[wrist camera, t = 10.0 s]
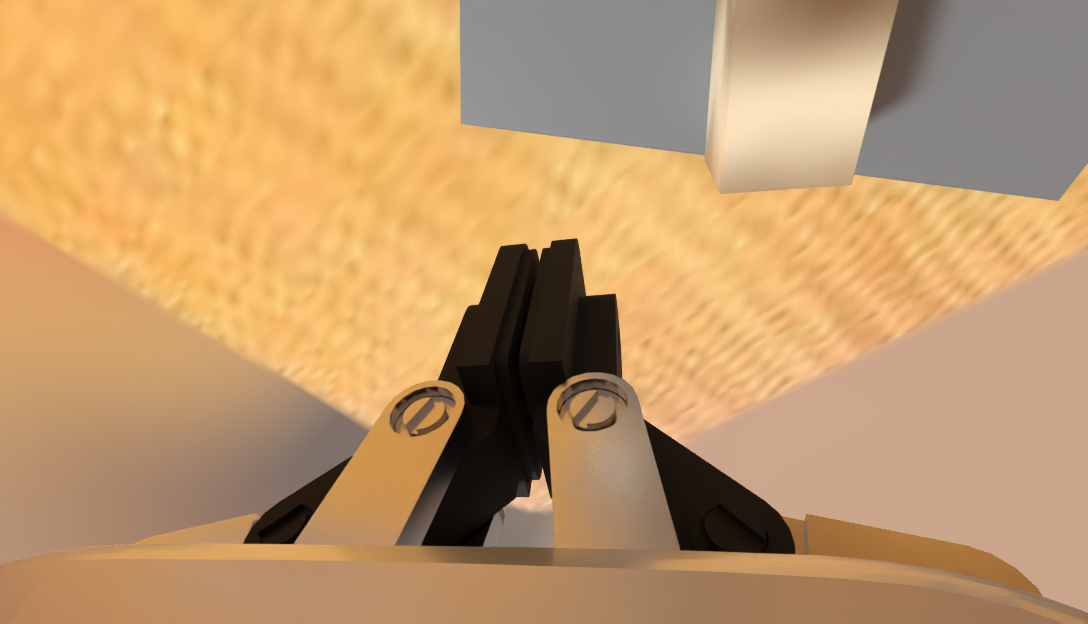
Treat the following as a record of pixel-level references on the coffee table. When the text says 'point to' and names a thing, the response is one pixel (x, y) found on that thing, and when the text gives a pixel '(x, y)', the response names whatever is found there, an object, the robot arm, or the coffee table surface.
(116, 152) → the coffee table surface
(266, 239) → the coffee table surface
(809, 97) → the link
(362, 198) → the coffee table surface
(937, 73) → the board
